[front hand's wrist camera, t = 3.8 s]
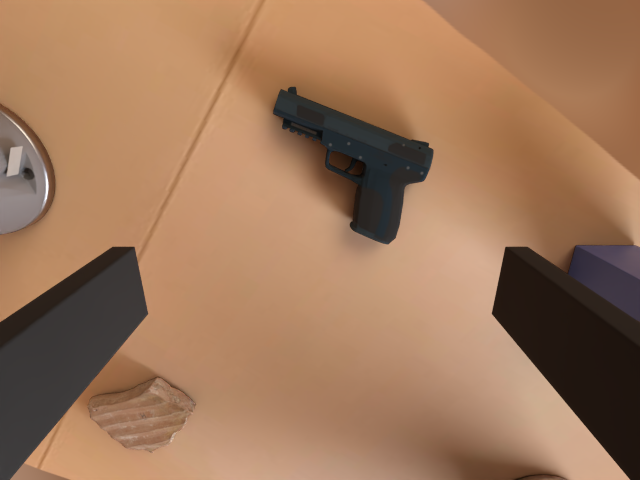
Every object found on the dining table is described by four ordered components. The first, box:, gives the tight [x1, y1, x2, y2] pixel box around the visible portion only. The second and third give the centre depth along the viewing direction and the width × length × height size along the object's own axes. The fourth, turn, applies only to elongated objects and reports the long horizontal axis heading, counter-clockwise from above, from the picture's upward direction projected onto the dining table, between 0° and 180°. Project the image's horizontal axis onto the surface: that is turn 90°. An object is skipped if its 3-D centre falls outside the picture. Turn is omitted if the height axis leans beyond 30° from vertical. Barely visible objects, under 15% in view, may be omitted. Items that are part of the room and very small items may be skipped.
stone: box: [87, 378, 196, 453], centre depth 51 cm, size 13×12×3 cm
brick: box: [568, 245, 640, 321], centre depth 40 cm, size 8×8×11 cm
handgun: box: [273, 87, 433, 244], centre depth 38 cm, size 3×18×12 cm
